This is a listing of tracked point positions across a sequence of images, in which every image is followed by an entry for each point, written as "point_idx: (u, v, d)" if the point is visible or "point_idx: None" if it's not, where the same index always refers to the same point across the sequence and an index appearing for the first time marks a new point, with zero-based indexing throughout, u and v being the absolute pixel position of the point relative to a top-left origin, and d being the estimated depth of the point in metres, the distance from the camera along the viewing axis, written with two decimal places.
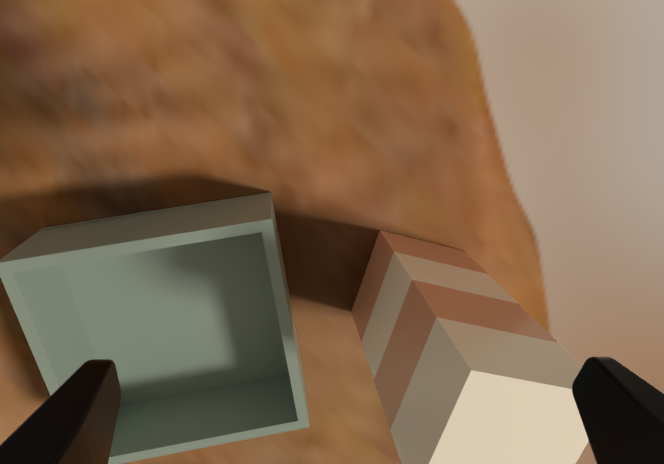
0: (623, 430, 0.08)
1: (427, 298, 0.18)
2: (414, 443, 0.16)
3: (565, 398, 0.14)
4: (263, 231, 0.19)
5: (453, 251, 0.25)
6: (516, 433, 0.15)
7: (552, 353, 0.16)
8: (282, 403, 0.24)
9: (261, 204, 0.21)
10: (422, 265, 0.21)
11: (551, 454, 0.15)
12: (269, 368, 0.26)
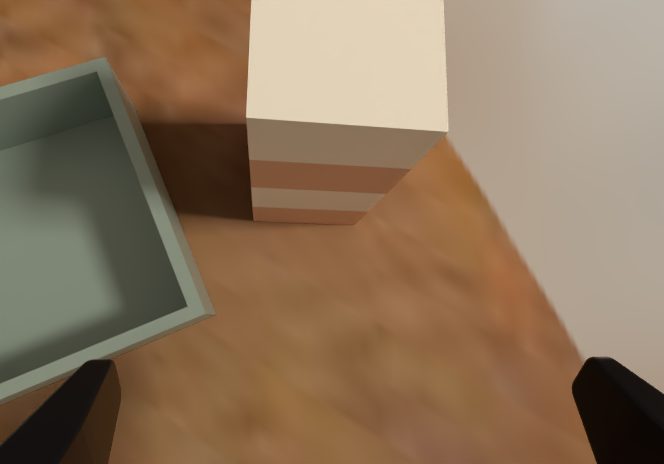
0: (623, 430, 0.08)
1: None
2: None
3: None
4: (98, 70, 0.19)
5: None
6: (346, 11, 0.12)
7: None
8: None
9: None
10: None
11: (406, 37, 0.12)
12: (167, 307, 0.21)
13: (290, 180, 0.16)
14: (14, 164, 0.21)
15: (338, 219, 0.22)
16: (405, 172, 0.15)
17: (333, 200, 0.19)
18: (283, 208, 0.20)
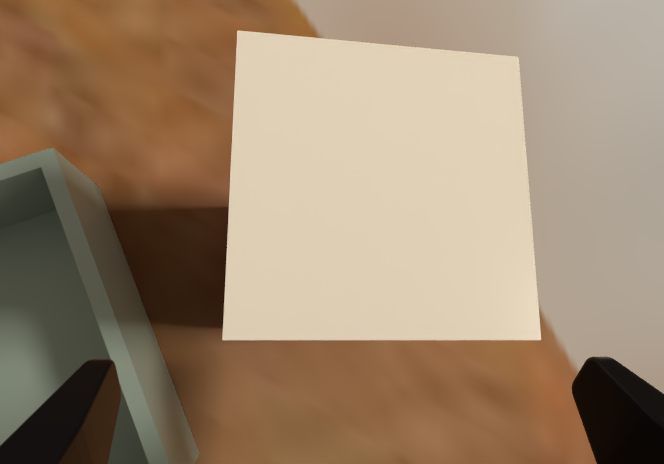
0: (623, 430, 0.08)
1: None
2: None
3: (434, 67, 0.08)
4: (43, 165, 0.14)
5: None
6: (379, 148, 0.08)
7: None
8: None
9: None
10: None
11: (470, 186, 0.08)
12: (137, 450, 0.17)
13: None
14: None
15: None
16: None
17: None
18: None
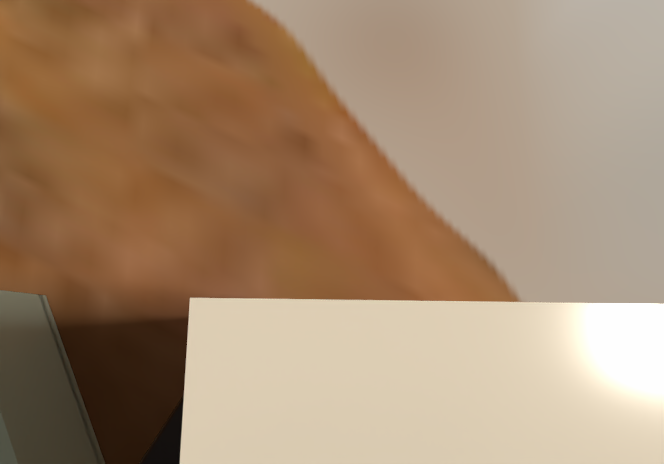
0: None
1: None
2: None
3: (614, 347, 0.04)
4: None
5: None
6: None
7: None
8: None
9: None
10: None
11: None
12: None
13: None
14: None
15: None
16: None
17: None
18: None
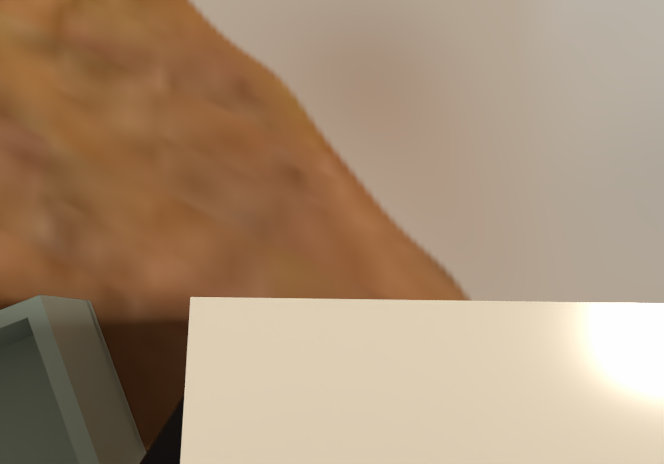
0: None
1: None
2: None
3: (612, 346, 0.04)
4: (30, 315, 0.14)
5: None
6: None
7: None
8: None
9: None
10: None
11: None
12: None
13: None
14: None
15: None
16: None
17: None
18: None
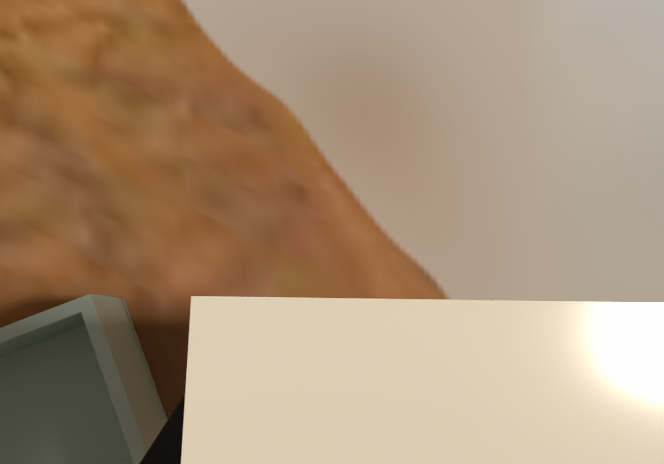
0: None
1: None
2: None
3: (614, 345, 0.04)
4: (82, 310, 0.17)
5: None
6: None
7: None
8: None
9: None
10: None
11: None
12: None
13: None
14: None
15: None
16: None
17: None
18: None
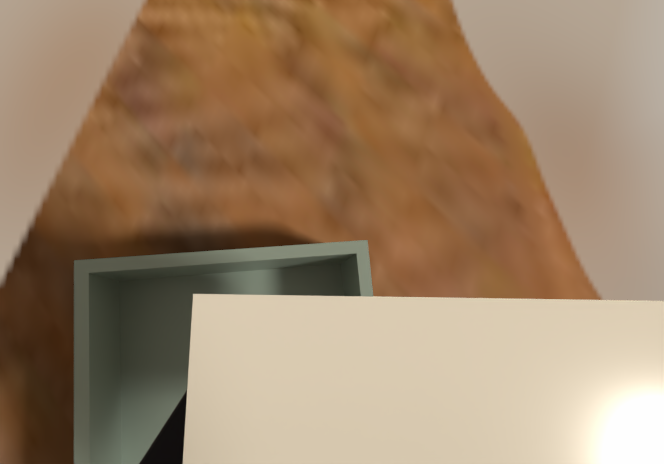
0: None
1: None
2: None
3: (615, 344, 0.04)
4: (358, 252, 0.19)
5: None
6: None
7: None
8: None
9: None
10: None
11: None
12: None
13: None
14: (230, 290, 0.21)
15: None
16: None
17: None
18: None
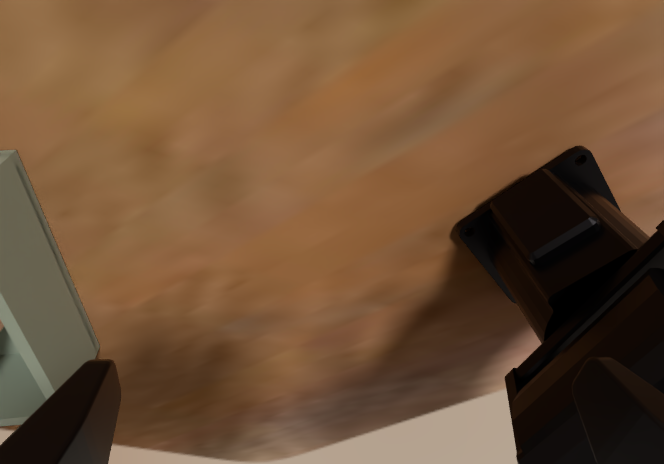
0: (623, 430, 0.08)
1: None
2: None
3: None
4: None
5: None
6: None
7: None
8: None
9: None
10: None
11: None
12: None
13: None
14: None
15: None
16: None
17: None
18: None
